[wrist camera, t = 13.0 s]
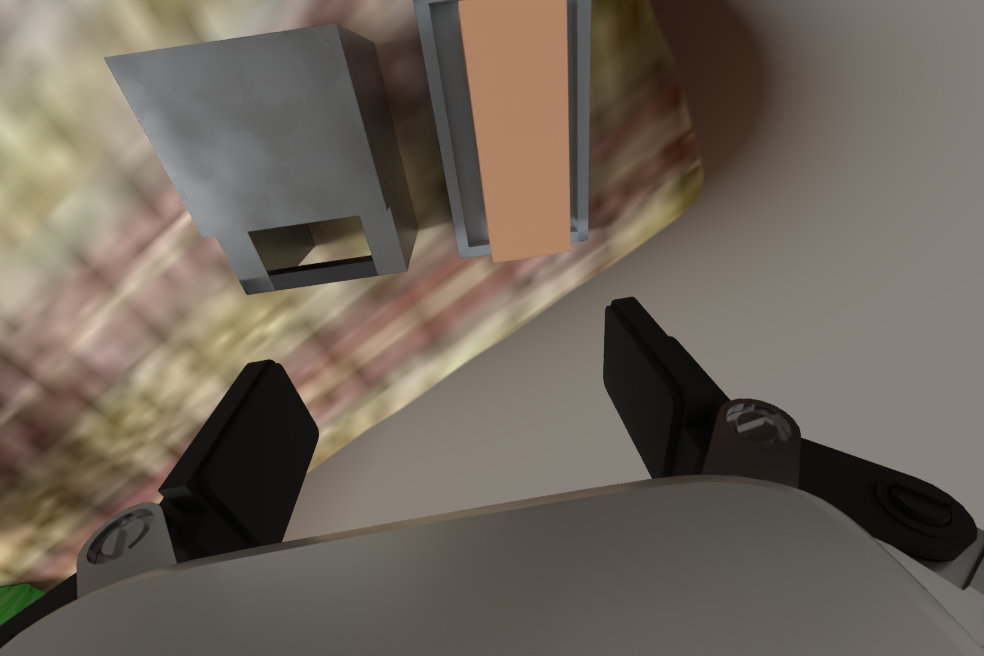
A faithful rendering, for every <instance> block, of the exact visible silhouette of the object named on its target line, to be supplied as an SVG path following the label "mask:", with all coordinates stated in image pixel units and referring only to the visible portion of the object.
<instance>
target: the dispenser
mask: <svg viewBox="0 0 984 656" xmlns="http://www.w3.org/2000/svg"><path fill="white" fill-rule="evenodd" d="M104 60H105V62H106V63H107V65H108V67H109V69H110V71H111V72H112V74H113V76H114V78H115V80H116V81H117V83H118V85H119V87H120V89H121V91H122V92H123V94H124V96H125V98H126V100H127V101H128V103H129V105H130V107H131V109H132V110H133V112H134V114H135V116H136V118H137V119H138V121H139V123H140V125H141V127H142V128H143V130H144V132H145V134H146V136H147V137H148V139H149V141H150V143H151V145H152V147H153V148H154V150H155V152H156V154H157V156H158V157H159V159H160V161H161V163H162V165H163V166H164V168H165V170H166V172H167V174H168V175H169V177H170V179H171V181H172V183H173V184H174V186H175V188H176V190H177V192H178V193H179V195H180V197H181V199H182V201H183V202H184V204H185V206H186V208H187V210H188V212H189V213H190V215H191V217H192V219H193V221H194V222H195V224H196V226H197V228H198V230H199V231H200V233H201V235H202V237H203V238H208V237H215V236H216V238H217V240H218V242H219V244H220V246H221V248H222V249H223V251H224V253H225V255H226V257H227V259H228V261H229V263H230V264H231V266H232V268H233V270H234V272H235V274H236V276H237V278H238V279H239V281H240V283H241V285H242V287H243V289H244V291H245V293H246V294H247V295H250V294H257V293H264V292H271V291H277V290H284V289H291V288H298V287H305V286H312V285H318V284H325V283H332V282H339V281H346V280H352V279H359V278H366V277H373V276H380V275H387V274H393V273H400V272H407V270H408V266H409V262H410V259H411V255H412V251H413V248H414V244H415V240H416V236H417V233H418V229H417V225H416V220H415V216H414V212H413V208H412V203H411V199H410V195H409V191H408V186H407V182H406V178H405V174H404V169H403V165H402V161H401V157H400V152H399V148H398V144H397V139H396V135H395V131H394V127H393V122H392V118H391V114H390V110H389V105H388V101H387V97H386V93H385V88H384V84H383V80H382V76H381V71H380V67H379V63H378V58H377V54H376V50H375V46H374V43H373V42H371V41H369V40H367V39H365V38H363V37H361V36H359V35H357V34H355V33H354V32H352V31H350V30H348V29H346V28H344V27H342V26H340V25H338V24H336V23H335V24H328V25H321V26H315V27H308V28H301V29H294V30H288V31H281V32H274V33H267V34H260V35H254V36H247V37H240V38H233V39H227V40H220V41H213V42H206V43H199V44H193V45H186V46H179V47H172V48H166V49H159V50H152V51H145V52H138V53H132V54H125V55H118V56H111V57H105V58H104ZM358 215H359V216H360V219H361V222H362V226H363V229H364V232H365V235H366V238H367V242H368V245H369V248H370V251H371V254H372V255H370V256H363V257H356V258H349V259H342V260H336V261H329V262H322V263H315V264H308V265H302V266H298V265H299V264H300V263H301V262H302V260H303V259H304V258H305V257H306V256H307V255H308V254H309V253H310V251H311V250H312V249H313V248H314V247H315V244H314V242H313V239H312V237H311V234H310V232H309V229H308V226H307V224H306V223H310V222H317V221H324V220H331V219H338V218H345V217H351V216H358Z"/></svg>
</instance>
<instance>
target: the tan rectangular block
mask: <svg viewBox="0 0 984 656" xmlns="http://www.w3.org/2000/svg"><path fill="white" fill-rule="evenodd" d="M458 22H459V29H460V37H461V44H462V51H463V59H464V66H465V73H466V80H467V88H468V95H469V102H470V110H471V117H472V124H473V131H474V139H475V146H476V153H477V160H478V168H479V175H480V182H481V190H482V197H483V204H484V211H485V219H486V226H487V233H488V238H489V243H490V248H491V252H492V257H493V262H494V263H496V262H503V261H509V260H516V259H523V258H529V257H536V256H543V255H549V254H556V253H563V252H569V251H571V244H570V181H569V119H568V56H567V0H462V1H459V4H458Z"/></svg>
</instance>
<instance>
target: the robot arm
mask: <svg viewBox="0 0 984 656" xmlns="http://www.w3.org/2000/svg"><path fill="white" fill-rule="evenodd" d="M603 380H604V385H605V388H606V390H607V392H608V394H609V396H610V398H611V400H612V402H613V404H614V406H615V408H616V410H617V411H618V414H619V415H620V417H621V419H622V421H623V423H624V425H625V427H626V429H627V431H628V433H629V435H630V437H631V439H632V441H633V443H634V445H635V446H636V448H637V450H638V452H639V454H640V456H641V458H642V460H643V462H644V464H645V466H646V468H647V470H648V472H649V474H650V476H651V477H652V479H647V480H641V481H634V482H628V483H621V484H615V485H608V486H602V487H595V488H589V489H583V490H577V491H571V492H565V493H559V494H553V495H547V496H542V497H536V498H530V499H524V500H518V501H513V502H506V503H501V504H495V505H489V506H483V507H478V508H472V509H466V510H460V511H455V512H449V513H444V514H437V515H432V516H426V517H420V518H415V519H409V520H404V521H398V522H392V523H387V524H381V525H375V526H370V527H364V528H358V529H353V530H348V531H343V532H337V533H331V534H325V535H320V536H314V537H309V538H303V539H298V540H293V541H287V542H282V540H283V537H284V535H285V532H286V529H287V526H288V523H289V520H290V518H291V515H292V512H293V509H294V507H295V504H296V501H297V498H298V495H299V493H300V490H301V487H302V484H303V481H304V478H305V476H306V473H307V470H308V467H309V464H310V462H311V459H312V456H313V453H314V450H315V448H316V445H317V442H318V439H319V430H318V427H317V425H316V423H315V422H314V420H313V418H312V417H311V415H310V413H309V411H308V410H307V408H306V406H305V404H304V403H303V401H302V399H301V397H300V396H299V394H298V392H297V391H296V389H295V387H294V385H293V384H292V382H291V380H290V378H289V377H288V375H287V373H286V371H285V370H284V368H283V366H282V365H281V364H279V363H275V362H274V361H273V360H270V359H269V360H263V361H257V362H251V363H248V364H247V365H246V366H245V367H244V369H243V370H242V371H241V373H240V374H239V376H238V377H237V379H236V380H235V381H234V383H233V384H232V386H231V387H230V389H229V390H228V391H227V393H226V394H225V396H224V397H223V398H222V400H221V401H220V403H219V404H218V406H217V407H216V408H215V410H214V411H213V413H212V414H211V416H210V417H209V418H208V420H207V421H206V423H205V424H204V426H203V427H202V428H201V430H200V431H199V433H198V434H197V436H196V437H195V438H194V440H193V441H192V443H191V444H190V445H189V447H188V448H187V450H186V451H185V453H184V454H183V455H182V457H181V458H180V460H179V461H178V463H177V464H176V465H175V467H174V468H173V470H172V471H171V473H170V474H169V475H168V477H167V478H166V480H165V481H164V483H163V484H162V485H161V487H160V488H159V490H158V492H159V493H161V494H162V495H163V496H164V498H163V499H162V501H161V502H160V504H156V503H153V502H148V503H141V504H138V505H135V506H132V507H130V508H128V509H126V510H124V511H122V512H120V513H118V514H117V515H115V516H114V517H113V518H111V519H110V520H108V521H107V522H105V523H104V524H103V525H102V526H101V527H100V528H99V529H98V530H96V531H95V532H94V533H93V534H92V536H91V537H90V538H89V539H88V540H87V542H86V543H85V544H84V546H83V547H82V549H81V551H80V553H79V554H78V559H77V563H76V566H77V572H76V573H75V574H73V575H72V576H70V577H69V578H68V579H66V580H65V581H63V582H62V583H60V584H59V585H58V586H56V587H55V588H53V589H52V590H50V591H49V592H47V593H46V594H45V595H43V596H42V597H40V598H39V599H37V600H36V601H35V602H33V603H32V604H30V605H29V606H27V607H26V608H24V609H23V610H22V611H20V612H19V613H17V614H16V615H14V616H13V617H12V618H10V619H9V620H7V621H6V622H4V623H3V624H1V625H0V656H984V531H983V530H981V529H979V528H977V527H976V524H975V522H974V520H973V518H972V517H971V515H970V514H969V513H968V512H967V511H966V510H965V508H964V507H963V506H962V505H961V504H960V503H959V502H957V501H956V500H955V499H954V498H953V497H951V496H950V495H949V494H947V493H946V492H944V491H942V490H940V489H939V488H937V487H935V486H934V485H932V484H930V483H927V482H925V481H923V480H921V479H918V478H916V477H913V476H910V475H907V474H905V473H902V472H899V471H896V470H893V469H890V468H887V467H884V466H881V465H878V464H875V463H873V462H870V461H867V460H864V459H861V458H858V457H855V456H853V455H850V454H847V453H844V452H841V451H838V450H835V449H833V448H830V447H827V446H824V445H821V444H818V443H815V442H812V441H810V440H807V439H803V438H801V433H800V428H799V426H798V425H797V423H796V422H795V421H794V419H793V418H792V417H791V416H790V415H788V414H787V413H786V412H785V411H783V410H781V409H780V408H778V407H776V406H774V405H772V404H769V403H766V402H764V401H760V400H755V399H735V400H730V399H729V398H728V397H727V396H726V395H725V394H724V392H723V391H722V390H721V389H720V388H719V387H718V386H717V385H716V384H715V382H714V381H713V380H712V379H711V378H710V377H709V376H708V375H707V373H706V372H705V371H704V370H703V369H702V368H701V367H700V365H699V364H698V363H697V362H696V361H695V360H694V359H693V358H692V356H691V355H690V354H689V353H688V352H687V351H686V350H685V349H684V348H683V346H682V345H681V344H680V343H679V342H678V341H677V340H676V339H675V338H674V337H671V336H668V335H667V334H666V333H665V332H664V331H663V330H662V328H661V327H660V326H659V325H658V324H657V323H656V321H654V319H653V318H652V317H651V316H650V315H649V313H648V312H647V311H646V310H645V309H644V308H643V307H642V305H641V304H640V303H639V302H638V301H637V300H636V299H635V298H634V297H627V298H622V299H615V300H613V301H612V303H611V305H610V306H607V307H606V309H605V335H604V367H603Z"/></svg>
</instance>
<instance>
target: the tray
mask: <svg viewBox="0 0 984 656" xmlns="http://www.w3.org/2000/svg"><path fill="white" fill-rule="evenodd" d="M413 1H414V7H415V12H416V18H417V23H418V29H419V34H420V40H421V45H422V51H423V56H424V62H425V68H426V73H427V79H428V84H429V90H430V95H431V101H432V106H433V112H434V117H435V123H436V129H437V134H438V140H439V145H440V151H441V156H442V162H443V167H444V173H445V178H446V184H447V189H448V195H449V201H450V206H451V212H452V217H453V223H454V228H455V234H456V239H457V245H458V250H459V256H460V259H462V258H468V257H475V256H482V255H489V254H492V252H491V248H490V243H489V238H488V233H487V226H486V219H485V211H484V204H483V197H482V190H481V182H480V175H479V168H478V160H477V153H476V146H475V139H474V131H473V124H472V117H471V110H470V102H469V95H468V88H467V80H466V73H465V66H464V59H463V51H462V44H461V37H460V29H459V22H458V4H459V1H462V0H413ZM567 56H568V119H569V181H570V243H571V242H578V241H584V240H588V205H589V133H590V61H591V0H567Z"/></svg>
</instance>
